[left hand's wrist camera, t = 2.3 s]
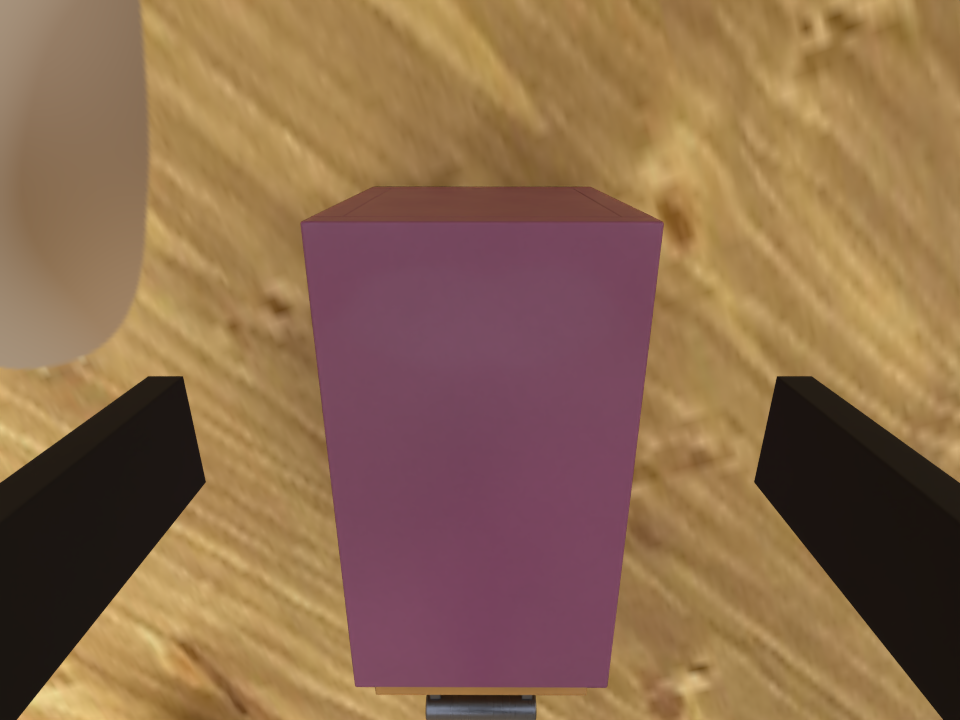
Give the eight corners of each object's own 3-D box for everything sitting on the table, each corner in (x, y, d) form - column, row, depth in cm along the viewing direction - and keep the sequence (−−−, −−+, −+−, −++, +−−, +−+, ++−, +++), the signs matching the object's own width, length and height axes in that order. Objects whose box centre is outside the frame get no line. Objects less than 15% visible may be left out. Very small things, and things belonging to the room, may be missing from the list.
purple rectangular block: (567, 513, 35) (607, 688, 24) (394, 512, 35) (354, 687, 24) (591, 186, 28) (665, 221, 17) (372, 186, 28) (299, 221, 17)
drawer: (553, 621, 37) (577, 781, 28) (408, 620, 37) (384, 781, 28) (578, 254, 28) (625, 312, 19) (385, 253, 28) (337, 312, 19)
